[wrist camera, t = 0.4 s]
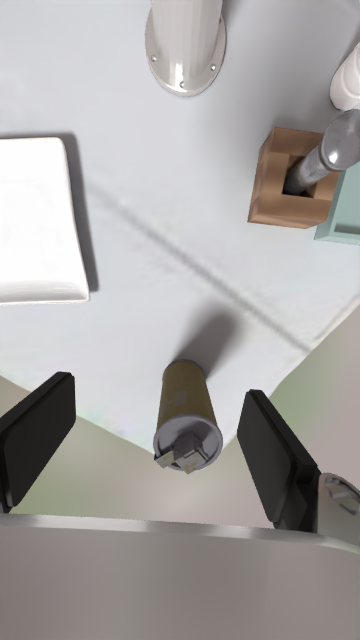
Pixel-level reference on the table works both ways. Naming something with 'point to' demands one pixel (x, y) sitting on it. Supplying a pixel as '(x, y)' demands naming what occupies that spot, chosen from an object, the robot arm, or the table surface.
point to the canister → (186, 420)
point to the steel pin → (327, 154)
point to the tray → (343, 210)
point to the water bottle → (347, 82)
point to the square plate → (38, 225)
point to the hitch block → (270, 174)
